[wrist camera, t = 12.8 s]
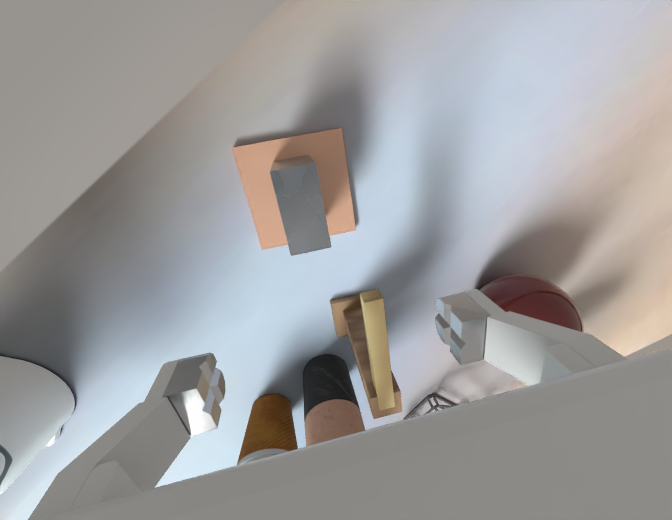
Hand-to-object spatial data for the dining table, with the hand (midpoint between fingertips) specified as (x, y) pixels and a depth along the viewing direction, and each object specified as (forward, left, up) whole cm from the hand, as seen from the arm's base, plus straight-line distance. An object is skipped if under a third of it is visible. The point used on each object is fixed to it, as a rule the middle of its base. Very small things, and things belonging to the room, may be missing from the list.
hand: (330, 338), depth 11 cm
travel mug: (-2, -29, -27) cm, 40 cm away
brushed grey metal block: (0, 0, -26) cm, 26 cm away
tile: (0, 0, -27) cm, 27 cm away
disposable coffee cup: (-12, -34, -27) cm, 45 cm away
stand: (+4, -14, -27) cm, 31 cm away
